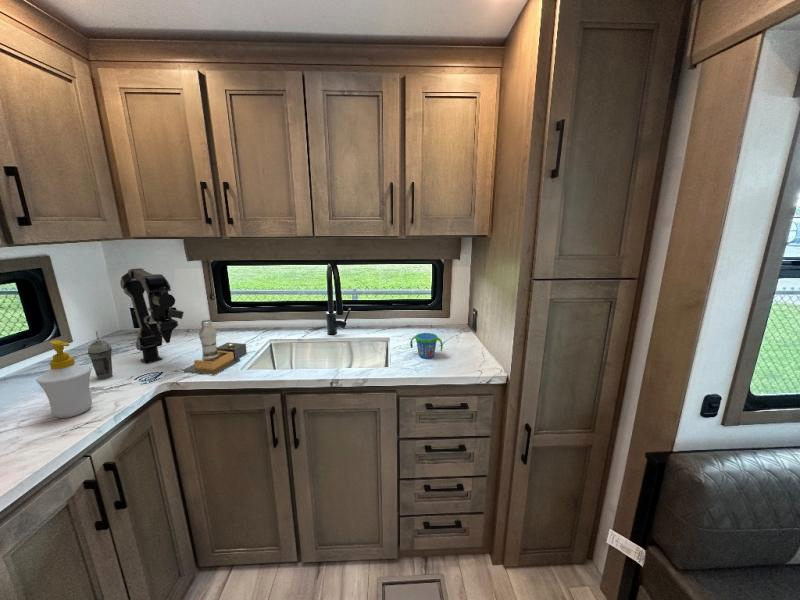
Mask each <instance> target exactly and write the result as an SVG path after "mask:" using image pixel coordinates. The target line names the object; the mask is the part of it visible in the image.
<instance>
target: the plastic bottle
mask: <svg viewBox="0 0 800 600" xmlns="http://www.w3.org/2000/svg"><path fill="white" fill-rule="evenodd" d="M212 325H213V323H212V320H211V319H205V320H201V328H200V330H199V332H198V336H199V340H200V344H201V348H202V359H201V360H203V361H214V360H216V359H218V358H220V357H219V354H218V351H217V347H218V346H217V331H216V329H215V328H214V327H213V326H212Z"/></svg>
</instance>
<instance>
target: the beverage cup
mask: <svg viewBox="0 0 800 600" xmlns="http://www.w3.org/2000/svg"><path fill="white" fill-rule="evenodd" d="M95 335H96V341H94V342H92V343H91V344H90V345H89V346H88V347H87V348H88V349H87V354H88V356H89V358H90V360H91V363H92V366H93V370H94V372H95V375H96V377H97V379H98V380H99V381H100V380H101V381H102V380H104V381H105V380H107V379H110V378H112V377H113V363H112V352H113V351H112V349H113V348H112V347H111V344H110V343H109V342H107V341H105V340H100V337H99V332H98V330H95Z"/></svg>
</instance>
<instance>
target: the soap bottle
mask: <svg viewBox="0 0 800 600" xmlns="http://www.w3.org/2000/svg"><path fill="white" fill-rule="evenodd" d="M49 343H50V344H51V345H53V350H54V351H55V352H56V354H54V355H53V356H52V359H51V360H50V361H49V366H50V369H49V370H48V371H46V372H45V373H43V374H40V375H39V376H38V377H37V378H36V379H35V381H36V383H38V384H39V386H40V387H41V389H42V390H43V392H44V393H45V395H46V397H47V399H48V402H49V406H50V411H51V413H52V415H53V416H54V417H55V418H58V419H67V418H71V417H75V416H79V415H81V414H83V413H85V412H87V411H88V410H90V408H91V406H92V404H93V400H92V396H91V395H92V394H91V391H90V379H91V373H92V369H93V368H92V367H90V366H89V365H85V364H84V365H83V364H79V363H76V361H75V358H74V357H73V356H70V354H69V353H68V352H64V349H65V347H69V346H70V343H69V342H67V341H66V342H65V341H63V340H59V339H55V340H54V339H53V340H51V341H50V342H49Z"/></svg>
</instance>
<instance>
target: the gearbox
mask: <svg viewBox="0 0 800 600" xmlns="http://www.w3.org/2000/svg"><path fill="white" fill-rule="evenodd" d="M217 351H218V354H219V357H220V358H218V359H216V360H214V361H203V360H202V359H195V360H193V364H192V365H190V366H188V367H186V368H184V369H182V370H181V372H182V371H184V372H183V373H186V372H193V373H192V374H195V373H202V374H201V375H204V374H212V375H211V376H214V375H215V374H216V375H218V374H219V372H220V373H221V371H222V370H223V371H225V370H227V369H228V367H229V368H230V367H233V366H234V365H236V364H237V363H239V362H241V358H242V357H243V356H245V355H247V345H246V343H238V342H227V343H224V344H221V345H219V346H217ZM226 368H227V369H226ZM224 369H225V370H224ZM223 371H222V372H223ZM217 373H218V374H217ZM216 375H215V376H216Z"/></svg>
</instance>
